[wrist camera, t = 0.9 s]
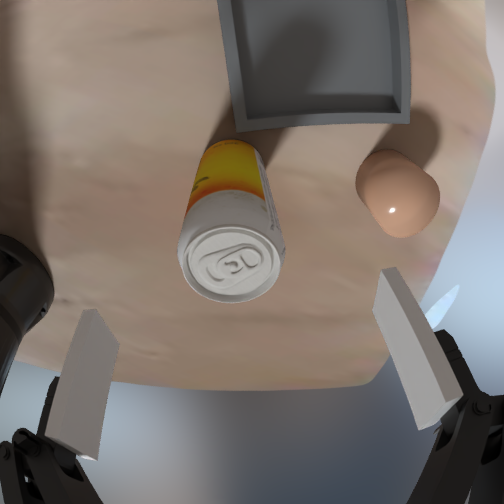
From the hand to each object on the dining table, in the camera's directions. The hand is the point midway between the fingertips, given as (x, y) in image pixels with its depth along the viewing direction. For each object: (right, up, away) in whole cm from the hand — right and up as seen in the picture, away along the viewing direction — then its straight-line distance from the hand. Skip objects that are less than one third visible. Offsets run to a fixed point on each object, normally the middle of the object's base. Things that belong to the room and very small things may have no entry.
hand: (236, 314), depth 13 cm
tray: (+6, +21, +7) cm, 24 cm away
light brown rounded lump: (+15, +11, +16) cm, 25 cm away
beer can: (-1, +11, +15) cm, 19 cm away
